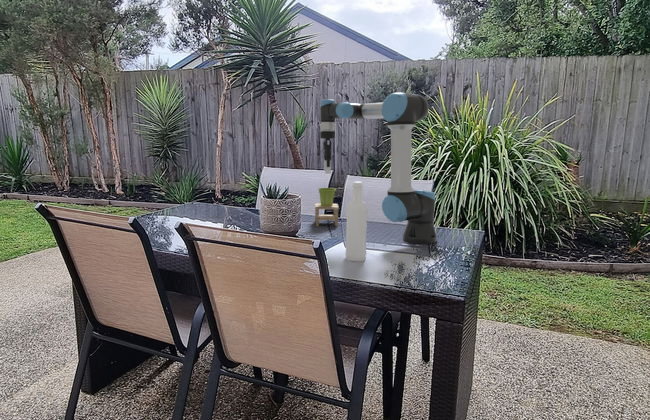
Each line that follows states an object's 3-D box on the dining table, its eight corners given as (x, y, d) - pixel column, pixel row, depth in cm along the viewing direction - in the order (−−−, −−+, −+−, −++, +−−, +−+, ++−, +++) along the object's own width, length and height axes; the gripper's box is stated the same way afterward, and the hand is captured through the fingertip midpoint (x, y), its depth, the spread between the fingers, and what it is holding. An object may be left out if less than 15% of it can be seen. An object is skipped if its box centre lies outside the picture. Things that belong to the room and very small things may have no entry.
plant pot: (338, 204, 229) (339, 188, 228) (330, 207, 221) (330, 190, 220) (323, 203, 234) (323, 187, 232) (314, 205, 226) (314, 189, 224)
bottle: (346, 255, 172) (347, 180, 167) (366, 256, 172) (368, 181, 166) (344, 261, 165) (346, 183, 159) (365, 262, 164) (368, 183, 158)
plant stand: (338, 226, 224) (338, 207, 222) (315, 226, 223) (315, 207, 222) (336, 221, 236) (336, 203, 234) (314, 221, 235) (314, 203, 233)
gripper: (319, 130, 233) (319, 170, 236) (321, 130, 208) (321, 174, 212) (333, 130, 233) (332, 170, 237) (336, 130, 209) (336, 174, 212)
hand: (327, 172), depth 224 cm, fingers open, 13 cm apart
